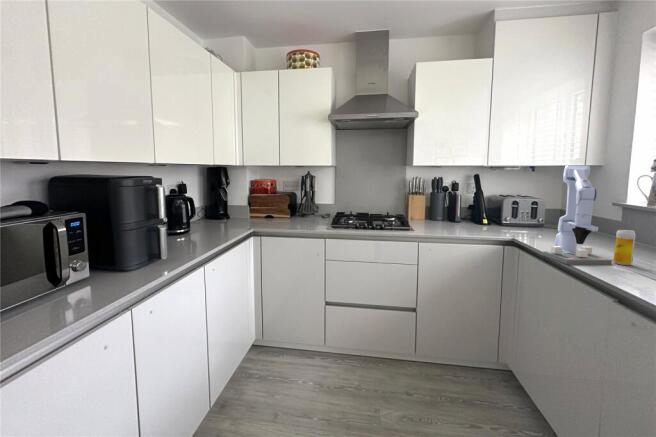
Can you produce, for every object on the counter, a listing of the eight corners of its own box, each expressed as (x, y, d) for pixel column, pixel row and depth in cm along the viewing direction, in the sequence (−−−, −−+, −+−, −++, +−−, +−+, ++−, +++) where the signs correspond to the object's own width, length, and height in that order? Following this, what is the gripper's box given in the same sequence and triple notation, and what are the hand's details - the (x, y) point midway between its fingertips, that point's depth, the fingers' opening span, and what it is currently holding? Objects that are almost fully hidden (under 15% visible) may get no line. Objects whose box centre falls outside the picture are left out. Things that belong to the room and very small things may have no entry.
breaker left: (550, 252, 147) (551, 246, 147) (558, 252, 147) (558, 246, 147) (554, 253, 145) (555, 247, 144) (562, 253, 145) (562, 247, 144)
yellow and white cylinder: (613, 261, 141) (616, 229, 140) (631, 263, 137) (635, 230, 135) (613, 263, 137) (616, 230, 135) (632, 266, 133) (636, 232, 131)
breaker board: (542, 255, 151) (543, 251, 150) (583, 255, 151) (583, 251, 151) (566, 264, 136) (567, 259, 136) (611, 264, 136) (612, 260, 136)
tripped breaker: (575, 255, 141) (576, 249, 141) (583, 255, 141) (584, 249, 141) (579, 257, 139) (580, 250, 138) (587, 257, 139) (588, 250, 138)
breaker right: (579, 252, 147) (580, 246, 147) (587, 252, 147) (588, 246, 147) (583, 253, 145) (584, 247, 144) (591, 253, 145) (592, 247, 144)
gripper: (562, 212, 146) (559, 240, 148) (588, 216, 132) (584, 247, 134) (577, 212, 146) (573, 240, 148) (604, 217, 132) (600, 247, 134)
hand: (579, 243), depth 141 cm, fingers closed
